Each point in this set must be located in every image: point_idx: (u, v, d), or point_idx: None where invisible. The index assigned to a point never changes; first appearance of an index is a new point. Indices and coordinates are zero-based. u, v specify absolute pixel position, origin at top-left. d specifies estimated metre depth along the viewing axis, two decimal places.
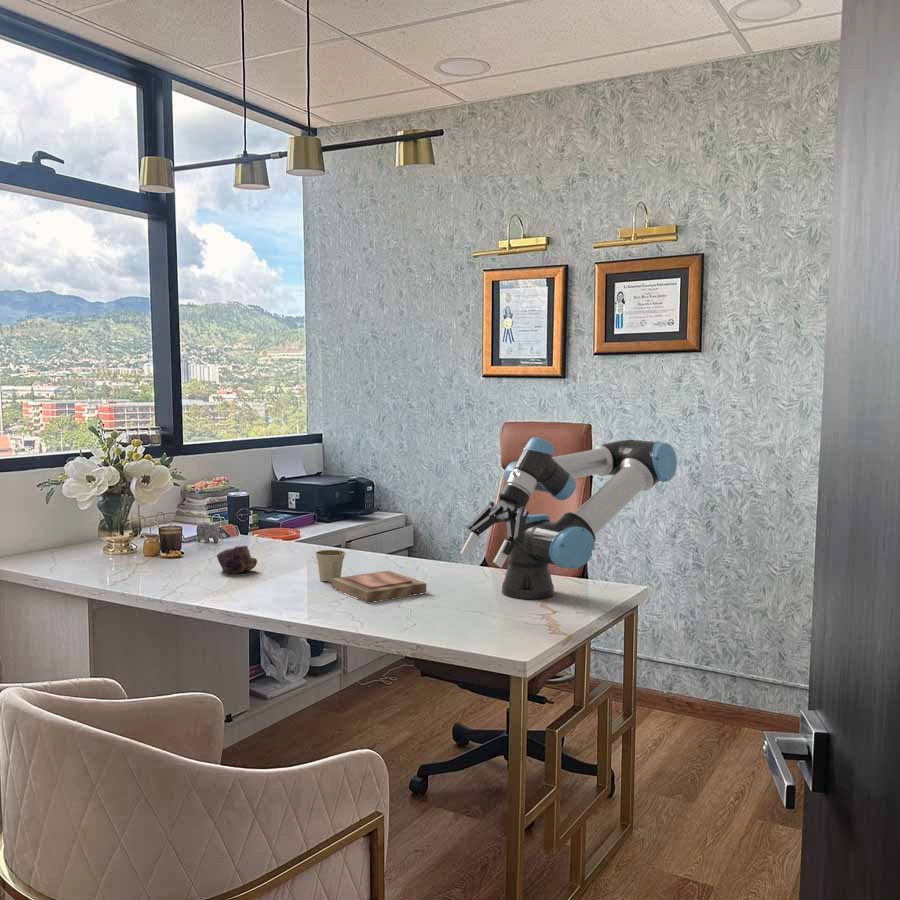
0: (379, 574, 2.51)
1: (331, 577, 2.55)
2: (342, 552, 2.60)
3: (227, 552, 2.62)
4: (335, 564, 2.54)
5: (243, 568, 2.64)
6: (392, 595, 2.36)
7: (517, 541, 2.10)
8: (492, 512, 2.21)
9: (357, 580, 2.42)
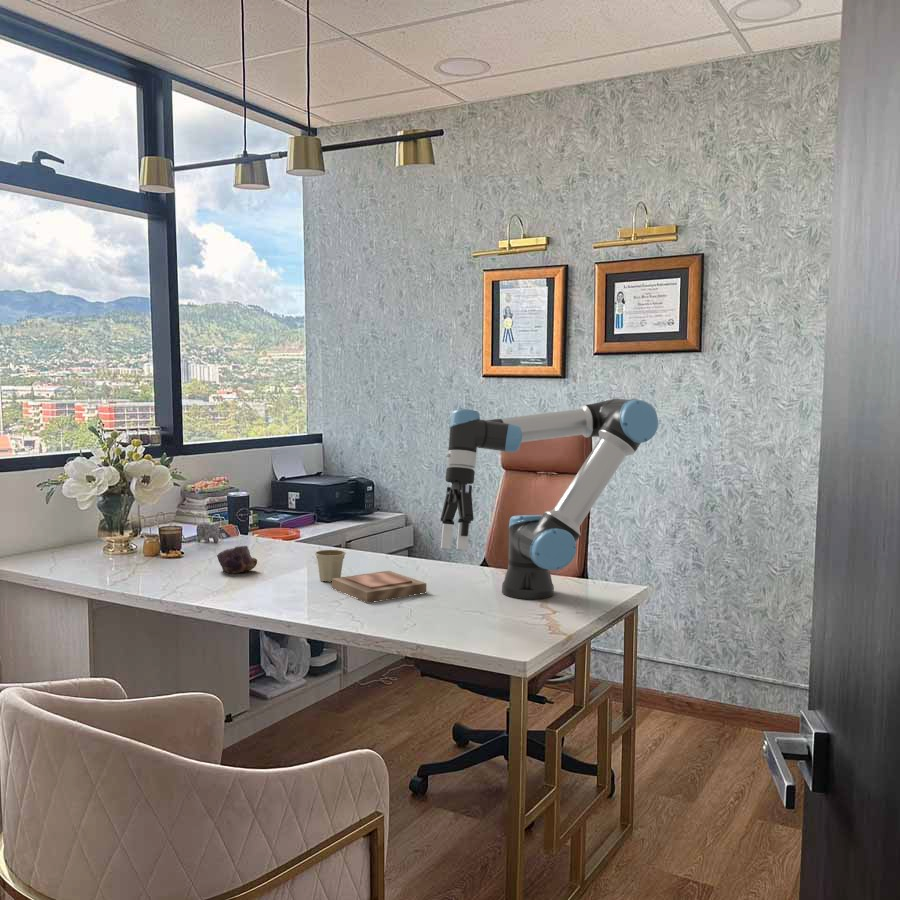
0: (379, 574, 2.51)
1: (331, 577, 2.55)
2: (342, 552, 2.60)
3: (227, 552, 2.62)
4: (335, 564, 2.54)
5: (243, 568, 2.64)
6: (392, 595, 2.36)
7: (467, 520, 2.10)
8: (448, 498, 2.22)
9: (357, 580, 2.42)
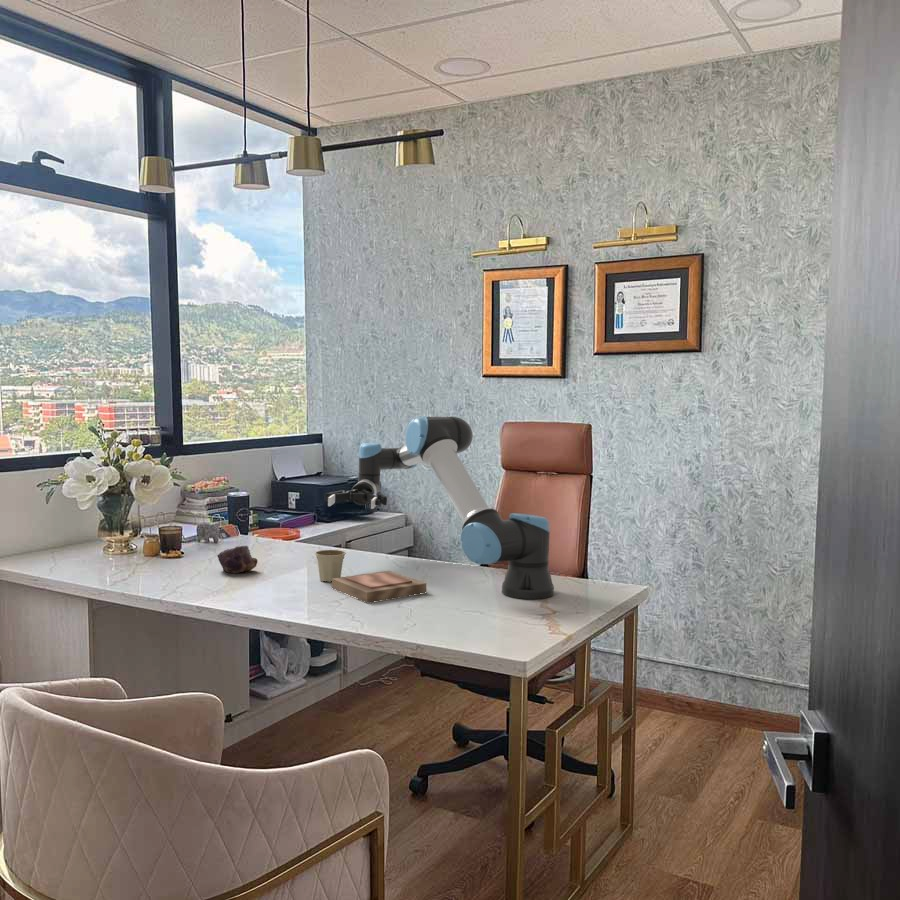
0: (379, 574, 2.51)
1: (331, 577, 2.55)
2: (342, 552, 2.60)
3: (227, 552, 2.63)
4: (335, 564, 2.54)
5: (243, 568, 2.64)
6: (392, 595, 2.36)
7: (325, 497, 2.70)
8: None
9: (357, 580, 2.42)
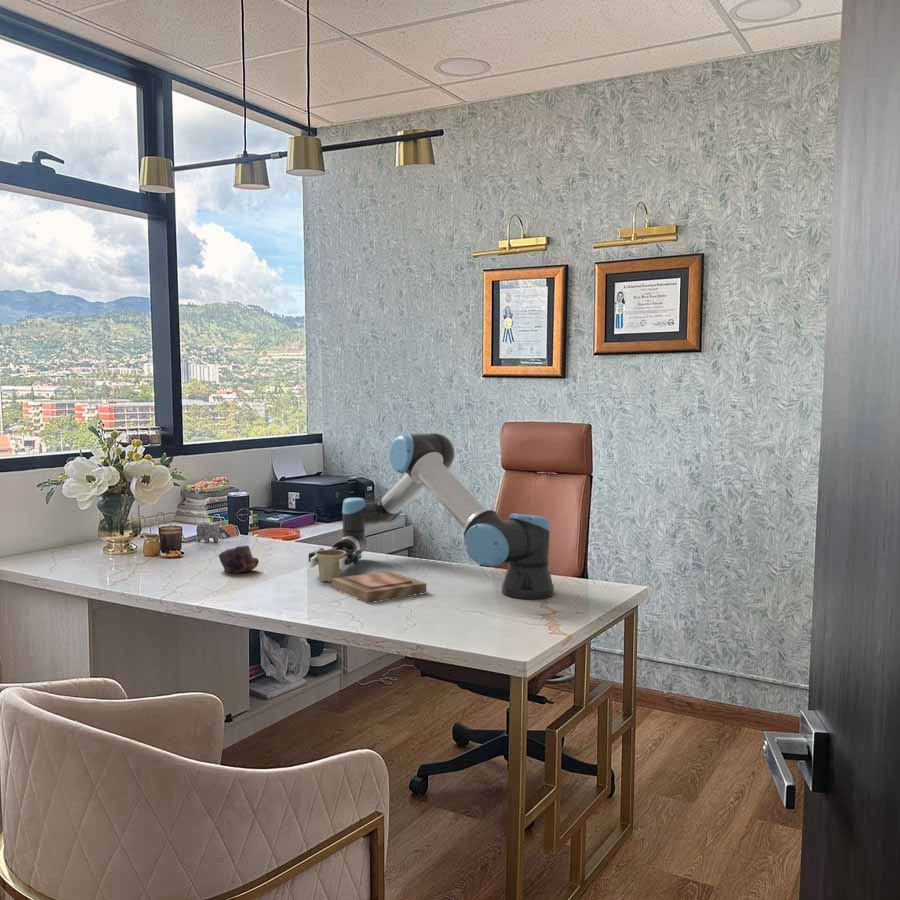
0: (379, 574, 2.51)
1: (331, 577, 2.55)
2: (342, 552, 2.60)
3: (228, 552, 2.63)
4: (335, 564, 2.54)
5: (244, 568, 2.64)
6: (392, 595, 2.36)
7: (309, 558, 2.61)
8: None
9: (357, 580, 2.42)
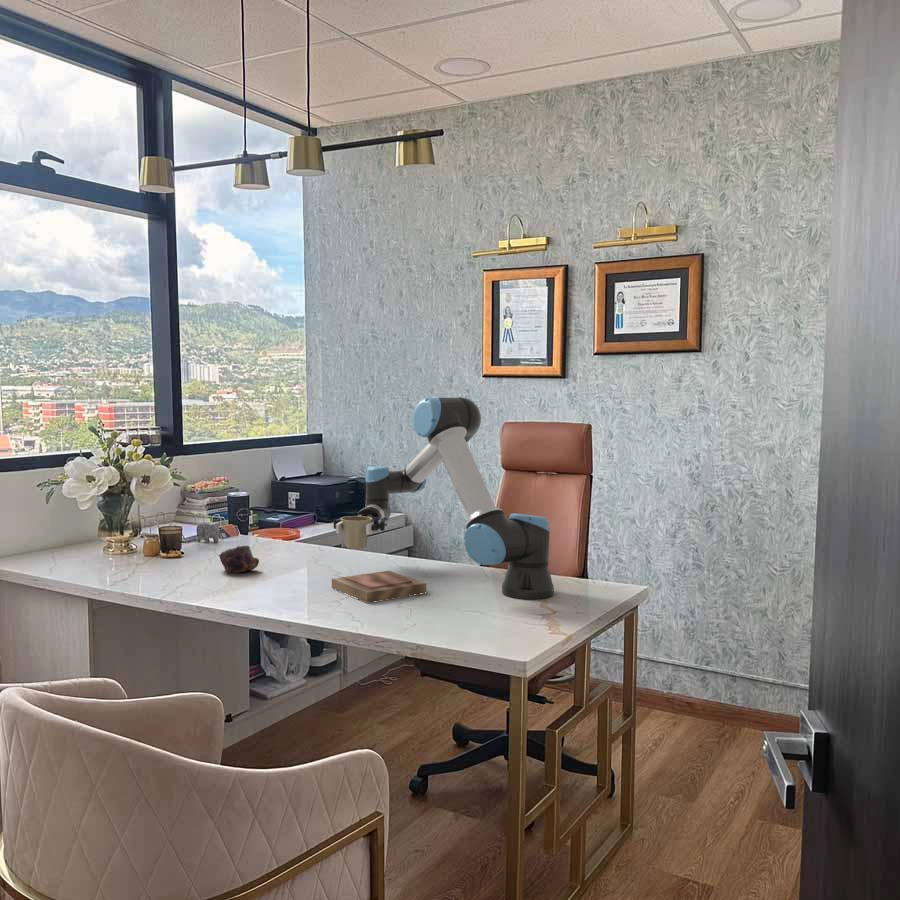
0: (379, 574, 2.51)
1: (357, 543, 2.47)
2: (368, 518, 2.53)
3: (229, 552, 2.63)
4: (361, 530, 2.47)
5: (245, 568, 2.64)
6: (392, 595, 2.36)
7: (334, 524, 2.54)
8: None
9: (357, 580, 2.42)
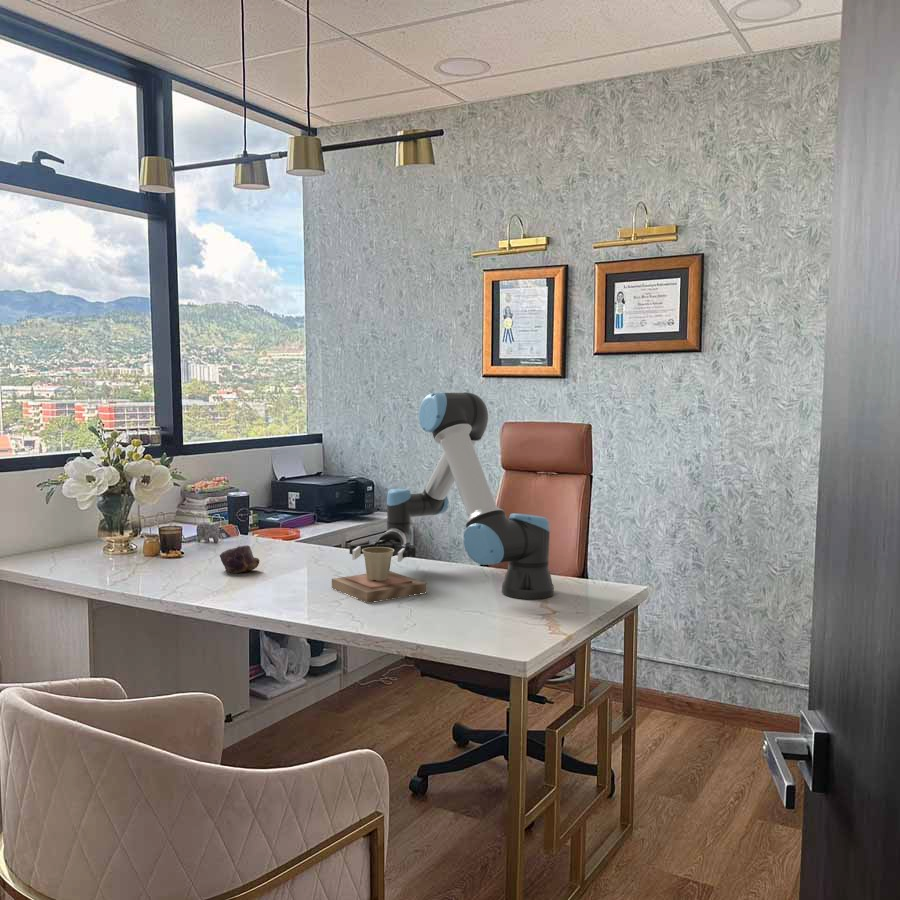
0: None
1: (379, 576, 2.42)
2: (390, 549, 2.47)
3: (229, 552, 2.63)
4: (383, 562, 2.41)
5: (245, 568, 2.64)
6: (392, 595, 2.36)
7: (350, 550, 2.49)
8: None
9: (357, 580, 2.42)
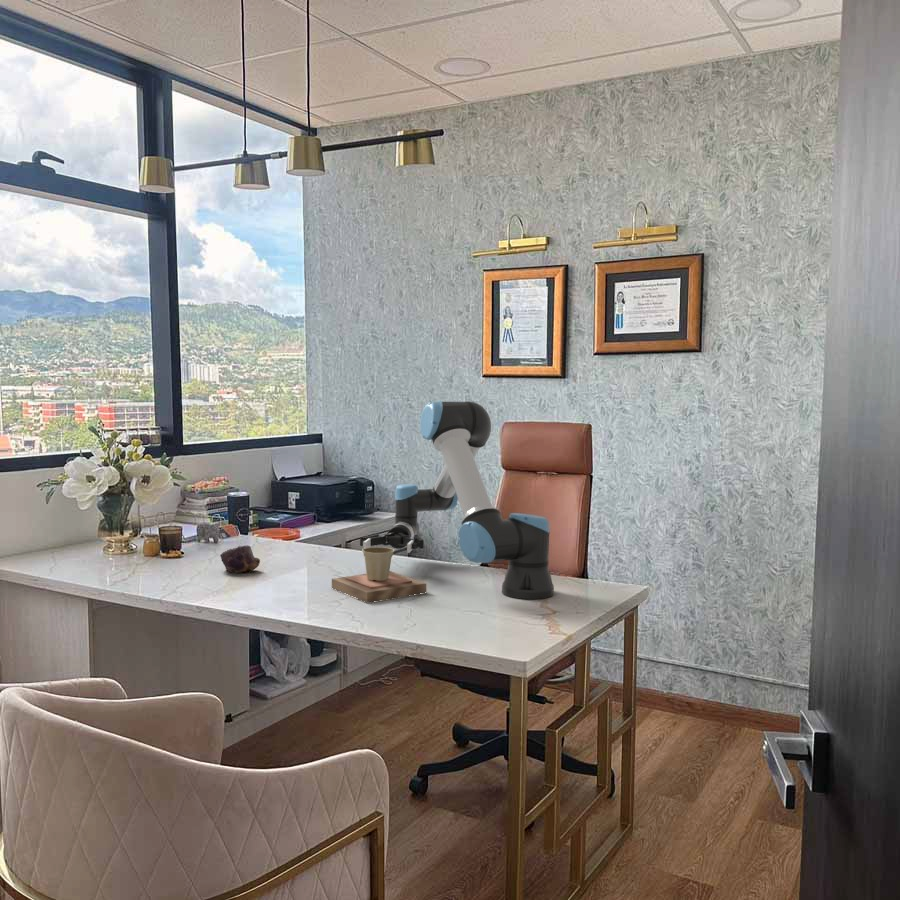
0: None
1: (379, 576, 2.42)
2: (390, 549, 2.47)
3: (230, 552, 2.63)
4: (383, 563, 2.41)
5: (246, 568, 2.65)
6: (392, 595, 2.36)
7: (361, 542, 2.62)
8: None
9: (357, 580, 2.42)
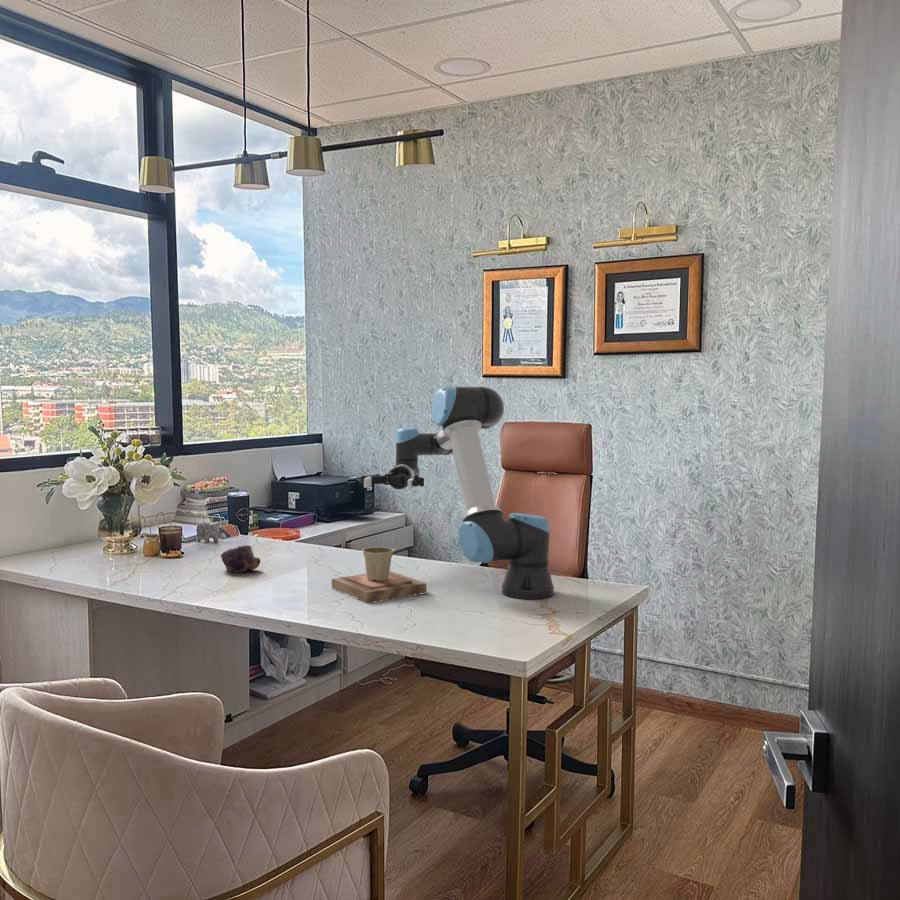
0: None
1: (379, 576, 2.42)
2: (390, 549, 2.47)
3: (230, 551, 2.63)
4: (383, 562, 2.41)
5: (246, 568, 2.65)
6: (392, 595, 2.36)
7: (362, 480, 2.64)
8: (404, 485, 2.68)
9: (357, 580, 2.42)
